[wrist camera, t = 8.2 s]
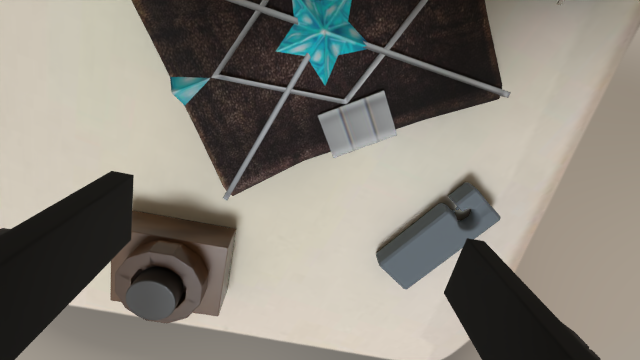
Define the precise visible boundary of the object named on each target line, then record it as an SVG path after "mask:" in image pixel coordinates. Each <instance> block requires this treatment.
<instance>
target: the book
mask: <svg viewBox="0 0 640 360" xmlns="http://www.w3.org/2000/svg"><path fill="white" fill-rule="evenodd" d="M132 2H133V4H134V6H135V8H136V10H137V12H138V14H139V16H140V18H141V20H142V22H143V24H144V26H145V28H146V30H147V31H148V33H149V35H150V37H151V39H152V41H153V43H154V45H155V47H156V49H157V51H158V53H159V55H160V57H161V59H162V61H163V63H164V65H165V67H166V69H167V71H168V73H169V75H170V79H171V90H172V94H173V95H174V96H176V97H177V98H178V99H179V100H180V101H181V102H182V103H183V104H184V105H185V107H186V109H187V111H188V113H189V115H190V117H191V119H192V121H193V123H194V126H195V128H196V130H197V132H198V134H199V136H200V138H201V140H202V142H203V144H204V146H205V149H206V151H207V153H208V155H209V157H210V159H211V161H212V163H213V166H214V168H215V170H216V172H217V174H218V176H219V178H220V180H221V182H222V185H223V187H224V188H225V189H226V191H227V192H226V193H225V195H224V197H223V198H224V199H225V200H228V198H229V196H230V195H232V196H234V195H236V194H238V193H240V192H242V191H244V190H246V189H248V188H250V187H252V186H254V185H256V184H258V183H260V182H262V181H264V180H266V179H268V178H270V177H272V176H274V175H276V174H278V173H280V172H282V171H284V170H286V169H288V168H290V167H292V166H294V165H296V164H298V163H300V162H302V161H304V160H307V159H310V158H313V157H316V156H319V155H322V154H325V153H328V152H331V153H332V155H333V158H335V157H338V156H341V155H344V154H346V153H349V152H352V151H355V150H357V149H360V148H363V147H366V146H368V145H371V144H374V143H377V142H379V141H382V140H385V139H388V138H390V137H393V136H396V135H397V133H396V130H395V129H398V128H401V127H404V126H407V125H410V124H413V123H415V122H418V121H421V120H425V119H428V118H432V117H436V116H439V115H443V114H447V113H450V112H454V111H458V110H461V109H465V108H468V107H472V106H476V105H479V104H483V103H487V102H490V101H494V100H497V99H499V98H500V96H503V97H509V95H510V93H511V92H508V91H505V90H502V82H501V77H500V73H499V68H498V63H497V59H496V54H495V49H494V44H493V40H492V35H491V30H490V26H489V21H488V16H487V11H486V5H485V0H132Z"/></svg>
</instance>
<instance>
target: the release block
mask: <svg viewBox="0 0 640 360" xmlns="http://www.w3.org/2000/svg"><path fill="white" fill-rule="evenodd" d="M235 234H236V229H234V228H228V227H223V226H217V225H211V224H206V223H200V222H194V221H189V220H183V219H177V218H172V217H166V216H160V215H155V214H149V213H143V212H138V211H132V230H131V241H130V242H129V243H128V244H127V245H126V246H125V247H124V248H123V249H122V250H121V251H120V252H119V253H118V254H117V255H116V256H115V257H114V258H113V259H112V260H111V300H112V301H119V302H122V303H123V305H124V306H125V308H127V309H128V310H129V311H131V310H130V309H129V307H128V305H127V303H126V292H127V290H128V288H129V287H130V286H131V284H132V283H133V282H134V281H135V279H136V278H137V277H138V275H139V274H140V273H141V272H142V271H144V270H145V269H148V268H151V267H163V268H167V269H169V270H171V271H173V272H175V273H176V274H177V275H178V276H179V277H180V279H181V280H182V282H183V286H184V291H183V295H182V297H181V298H180V300H179V302H178V304H177V306H176V308H175V310H174V311H173V313H172V314H171V315H169V316H168V317H166V318H164V319H161V320H148V321H155V322H161V323H170V322H174V321H177V320H181V319H184V318H187V317H188V316H189V315H190V314H191V313H199V314H206V315H212V316H218V315H219V313H220V310H221V307H222V304H223V301H224V298H225V296H226V293H227V287H228V280H229V274H230V267H231V261H232V254H233V247H234V241H235ZM131 312H132V311H131ZM145 320H147V319H145Z"/></svg>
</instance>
